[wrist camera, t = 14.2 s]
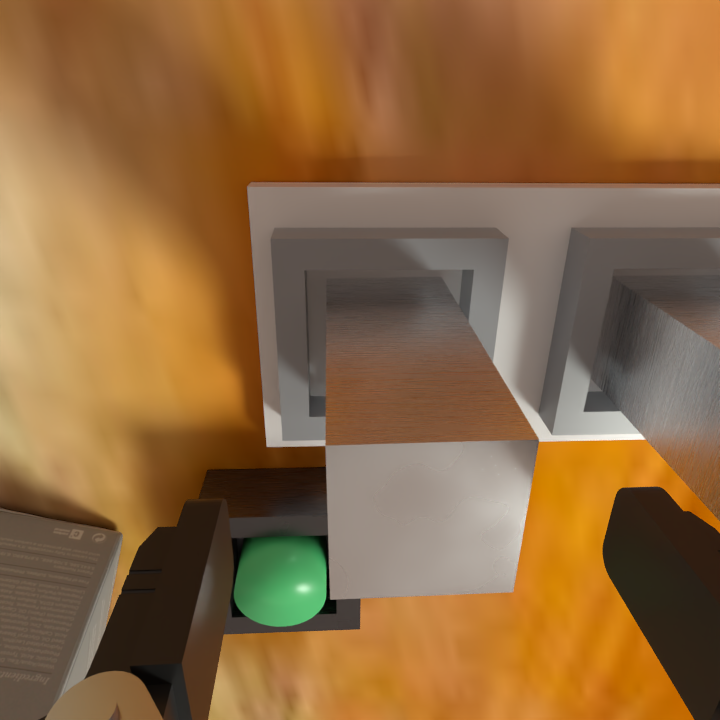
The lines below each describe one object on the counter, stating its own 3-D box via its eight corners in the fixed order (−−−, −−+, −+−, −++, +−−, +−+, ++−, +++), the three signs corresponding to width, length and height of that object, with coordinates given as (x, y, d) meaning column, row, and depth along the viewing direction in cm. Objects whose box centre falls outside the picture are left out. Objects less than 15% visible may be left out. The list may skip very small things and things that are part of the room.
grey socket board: (269, 433, 23) (262, 470, 21) (251, 182, 19) (240, 194, 16) (712, 424, 24) (752, 459, 22) (794, 184, 20) (855, 196, 17)
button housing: (222, 579, 26) (210, 634, 24) (207, 470, 24) (192, 518, 21) (356, 574, 27) (360, 629, 24) (357, 466, 24) (361, 514, 21)
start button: (247, 570, 25) (237, 628, 23) (240, 508, 24) (229, 562, 21) (327, 568, 25) (326, 624, 23) (325, 506, 24) (325, 559, 21)
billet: (329, 380, 21) (329, 599, 12) (326, 278, 19) (325, 445, 10) (434, 378, 21) (513, 592, 12) (441, 276, 19) (539, 439, 10)
